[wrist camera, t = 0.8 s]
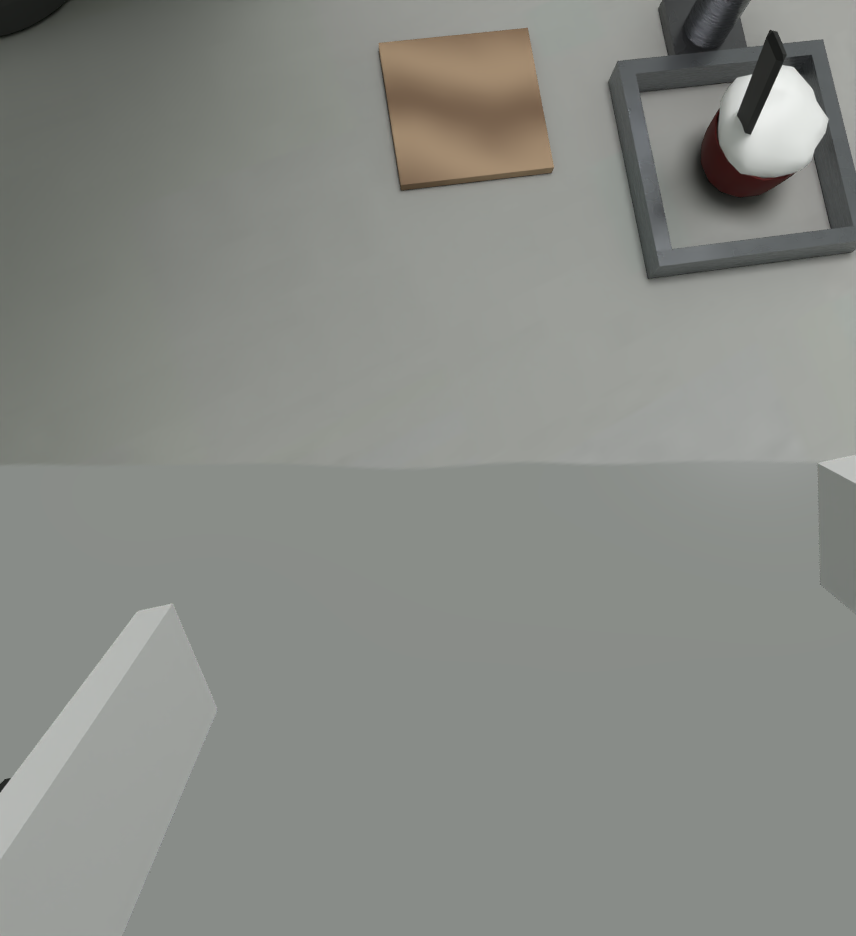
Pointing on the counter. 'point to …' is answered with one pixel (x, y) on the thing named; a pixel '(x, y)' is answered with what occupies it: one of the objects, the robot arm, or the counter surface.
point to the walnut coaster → (465, 108)
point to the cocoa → (763, 127)
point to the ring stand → (710, 62)
